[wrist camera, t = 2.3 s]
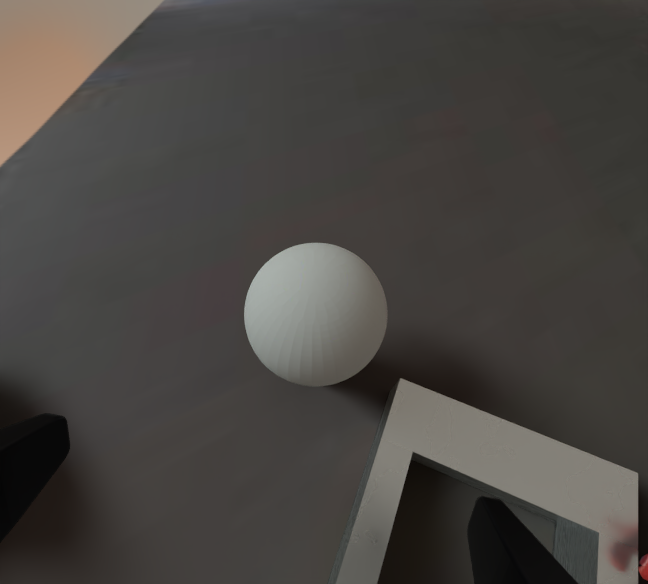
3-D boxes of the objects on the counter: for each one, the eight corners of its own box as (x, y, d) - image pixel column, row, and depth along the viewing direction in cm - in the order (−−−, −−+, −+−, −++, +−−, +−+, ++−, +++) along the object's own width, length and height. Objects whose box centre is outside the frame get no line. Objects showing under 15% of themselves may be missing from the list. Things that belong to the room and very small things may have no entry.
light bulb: (280, 425, 19) (244, 385, 10) (260, 329, 22) (217, 230, 13) (381, 395, 20) (428, 334, 11) (350, 306, 23) (367, 198, 14)
